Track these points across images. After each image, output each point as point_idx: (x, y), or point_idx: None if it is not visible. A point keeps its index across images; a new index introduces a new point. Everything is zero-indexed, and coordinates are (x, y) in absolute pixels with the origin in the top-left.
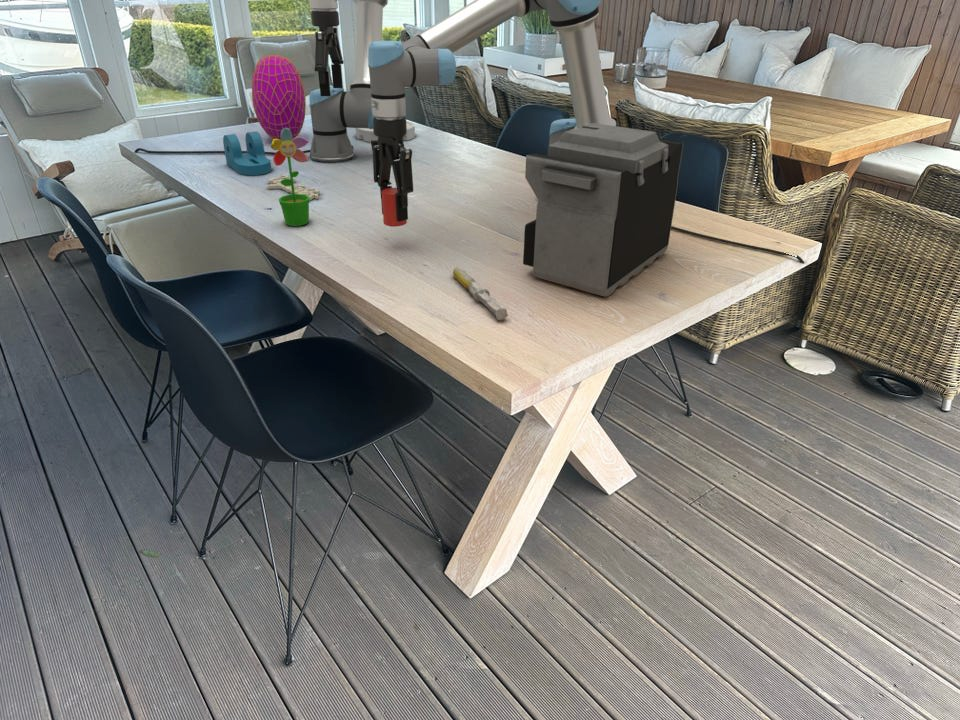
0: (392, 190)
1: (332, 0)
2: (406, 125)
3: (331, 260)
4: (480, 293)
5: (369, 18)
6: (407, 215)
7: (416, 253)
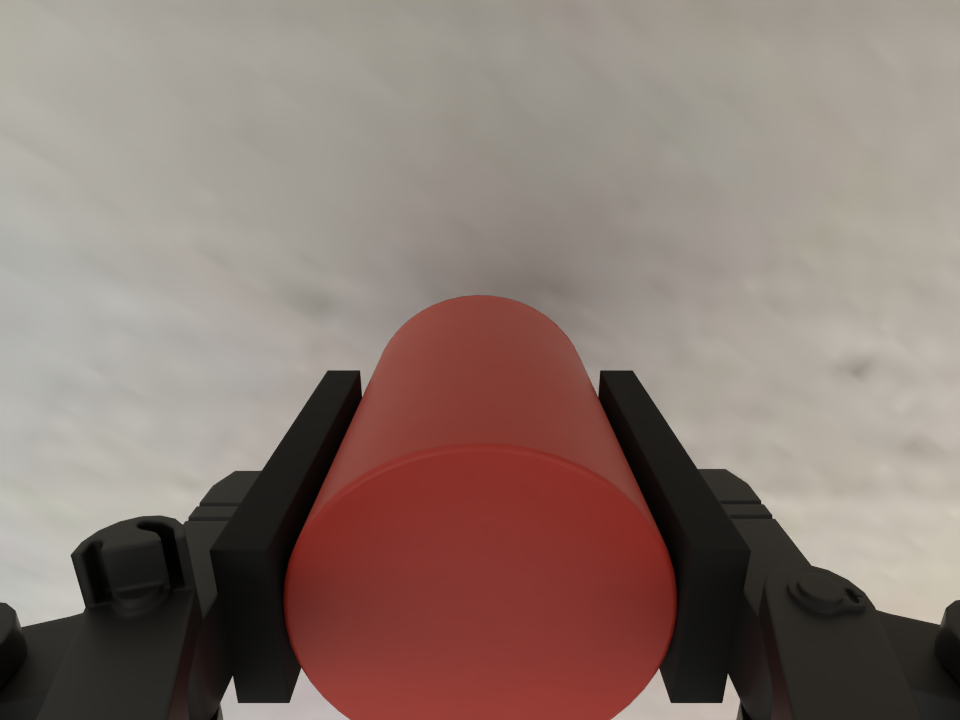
0: (445, 618)
1: None
2: None
3: None
4: None
5: None
6: (644, 393)
7: (668, 295)
